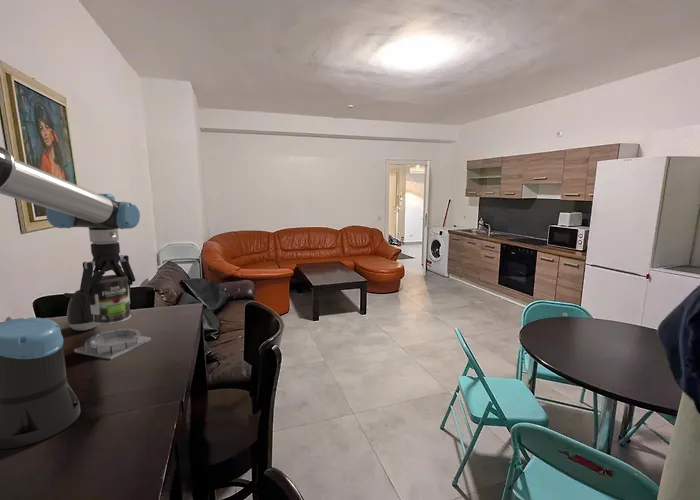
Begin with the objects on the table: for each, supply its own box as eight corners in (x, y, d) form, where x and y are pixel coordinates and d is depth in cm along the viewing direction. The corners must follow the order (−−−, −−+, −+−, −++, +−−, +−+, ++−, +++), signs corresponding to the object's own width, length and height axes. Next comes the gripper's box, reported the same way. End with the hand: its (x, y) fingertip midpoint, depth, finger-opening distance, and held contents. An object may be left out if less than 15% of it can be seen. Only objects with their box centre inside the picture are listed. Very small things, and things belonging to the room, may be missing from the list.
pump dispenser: (72, 325, 130) (68, 287, 128) (104, 321, 135) (101, 284, 132) (63, 335, 121) (58, 294, 119) (98, 331, 125) (94, 291, 123)
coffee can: (136, 318, 114) (132, 278, 111) (100, 327, 106) (95, 284, 103) (124, 311, 120) (120, 272, 117) (88, 319, 112) (84, 278, 109)
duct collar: (110, 359, 105) (109, 350, 104) (74, 352, 109) (73, 343, 108) (151, 340, 119) (150, 332, 119) (117, 334, 123) (117, 326, 123)
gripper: (77, 248, 96) (85, 322, 100) (144, 238, 118) (149, 299, 122) (57, 246, 98) (66, 318, 102) (127, 237, 120) (132, 297, 124)
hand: (111, 308), depth 112 cm, fingers closed on coffee can, 10 cm apart
